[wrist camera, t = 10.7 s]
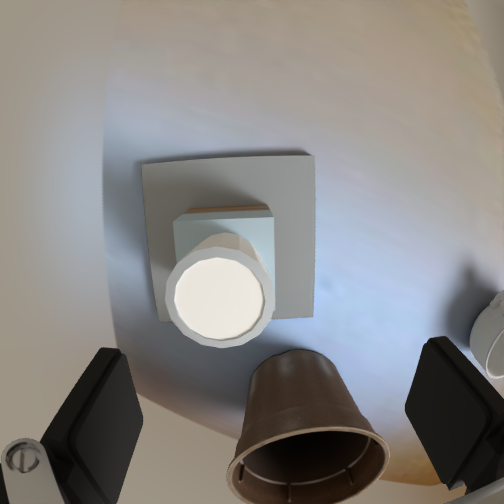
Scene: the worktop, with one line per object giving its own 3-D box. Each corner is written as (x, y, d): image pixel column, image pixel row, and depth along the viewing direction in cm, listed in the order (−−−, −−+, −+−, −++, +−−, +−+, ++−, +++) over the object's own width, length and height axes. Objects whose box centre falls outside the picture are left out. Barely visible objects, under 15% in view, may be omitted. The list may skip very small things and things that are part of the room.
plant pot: (220, 414, 42) (212, 506, 26) (249, 321, 38) (251, 417, 22) (324, 429, 43) (345, 513, 28) (369, 346, 39) (418, 429, 23)
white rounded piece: (285, 265, 26) (299, 300, 19) (228, 319, 27) (222, 366, 21) (224, 206, 25) (216, 222, 18) (167, 266, 26) (143, 300, 19)
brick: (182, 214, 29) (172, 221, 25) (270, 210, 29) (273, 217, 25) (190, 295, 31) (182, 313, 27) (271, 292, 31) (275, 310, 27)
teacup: (503, 340, 40) (529, 363, 33) (457, 363, 41) (482, 391, 33) (512, 265, 37) (545, 283, 29) (463, 285, 37) (497, 307, 29)
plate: (144, 164, 33) (141, 164, 31) (312, 155, 33) (314, 155, 32) (161, 317, 37) (158, 321, 36) (311, 312, 37) (313, 316, 36)
